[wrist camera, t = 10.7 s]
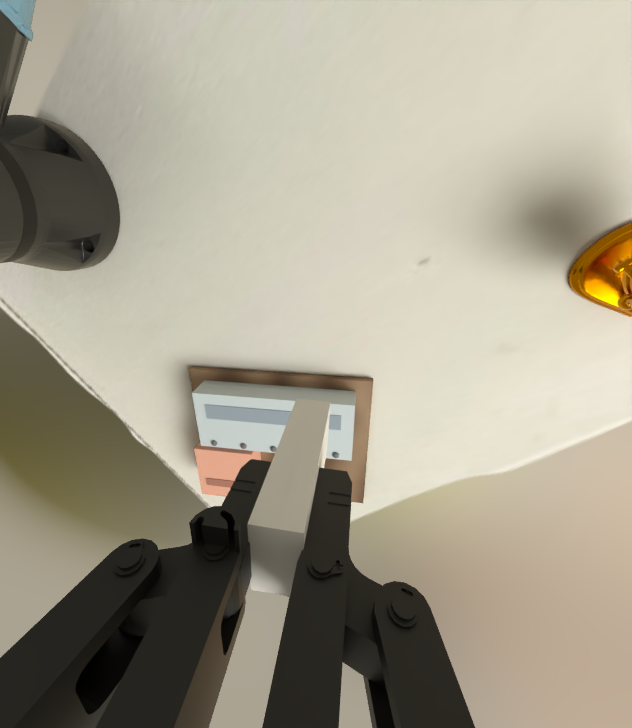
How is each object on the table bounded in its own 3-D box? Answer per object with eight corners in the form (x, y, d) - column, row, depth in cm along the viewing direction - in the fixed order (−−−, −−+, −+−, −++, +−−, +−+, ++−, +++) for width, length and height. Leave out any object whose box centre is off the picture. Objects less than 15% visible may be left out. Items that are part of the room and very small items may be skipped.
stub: (212, 476, 51) (201, 494, 47) (205, 433, 47) (193, 449, 44) (262, 482, 50) (255, 500, 46) (259, 438, 46) (251, 455, 43)
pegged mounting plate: (212, 430, 47) (200, 446, 44) (204, 380, 44) (191, 393, 41) (352, 443, 44) (351, 461, 41) (355, 391, 41) (354, 406, 38)
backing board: (210, 481, 52) (208, 484, 52) (191, 366, 44) (188, 369, 44) (363, 498, 49) (363, 503, 48) (372, 378, 41) (373, 381, 40)
